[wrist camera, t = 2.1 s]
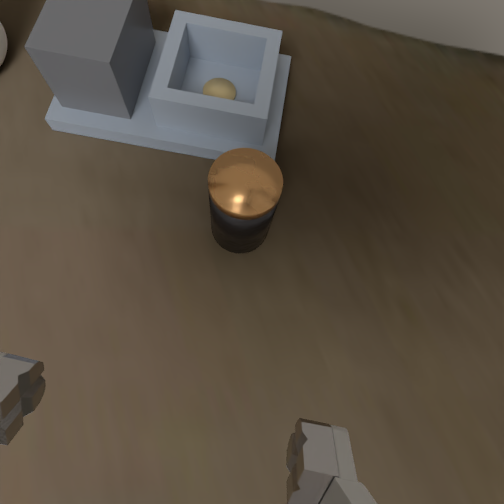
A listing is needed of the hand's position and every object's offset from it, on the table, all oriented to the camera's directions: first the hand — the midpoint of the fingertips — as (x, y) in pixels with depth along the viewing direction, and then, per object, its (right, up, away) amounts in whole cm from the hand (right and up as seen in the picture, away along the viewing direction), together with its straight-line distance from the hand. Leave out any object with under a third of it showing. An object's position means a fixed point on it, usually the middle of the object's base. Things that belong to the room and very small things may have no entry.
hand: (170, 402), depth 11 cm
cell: (+2, +7, +19) cm, 20 cm away
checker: (-4, +20, +22) cm, 30 cm away
